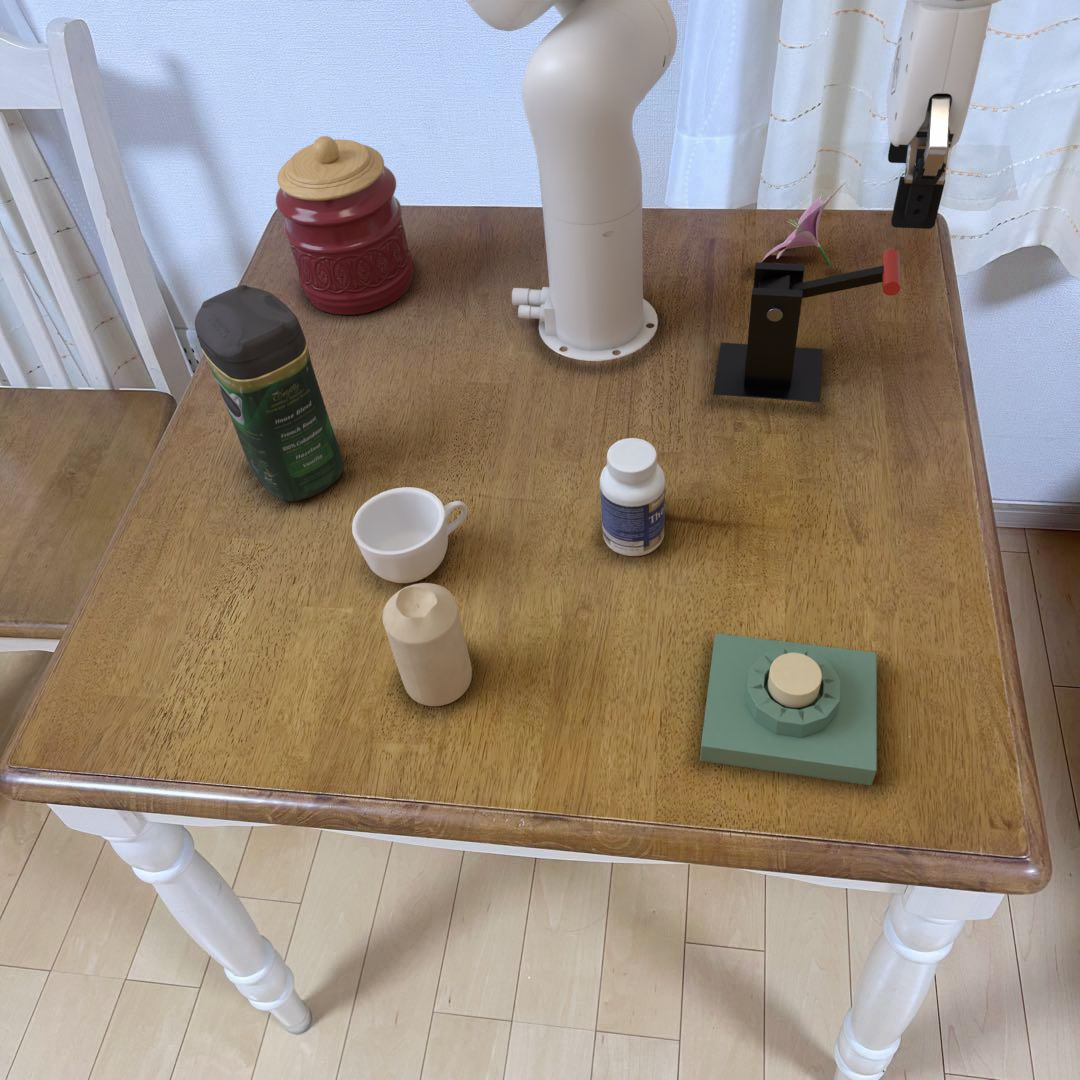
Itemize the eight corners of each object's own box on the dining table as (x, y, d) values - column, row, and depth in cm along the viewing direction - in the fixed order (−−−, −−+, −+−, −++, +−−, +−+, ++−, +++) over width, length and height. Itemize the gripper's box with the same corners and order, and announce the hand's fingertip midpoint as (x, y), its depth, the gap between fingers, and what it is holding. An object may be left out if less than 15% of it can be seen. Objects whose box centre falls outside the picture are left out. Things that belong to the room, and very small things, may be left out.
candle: (483, 657, 82) (465, 578, 74) (457, 714, 78) (436, 638, 71) (420, 642, 83) (397, 563, 76) (392, 697, 80) (365, 621, 72)
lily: (831, 236, 118) (797, 164, 113) (900, 245, 108) (866, 167, 103) (754, 301, 117) (716, 231, 112) (816, 317, 107) (778, 241, 102)
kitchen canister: (390, 323, 112) (355, 175, 99) (285, 311, 115) (237, 166, 102) (431, 256, 120) (403, 111, 107) (331, 247, 123) (292, 104, 110)
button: (766, 704, 72) (768, 691, 71) (769, 663, 75) (771, 649, 73) (818, 711, 72) (821, 698, 70) (819, 669, 74) (822, 655, 73)
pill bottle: (660, 561, 87) (661, 481, 79) (598, 555, 88) (593, 475, 80) (668, 515, 90) (669, 434, 83) (608, 509, 91) (604, 429, 84)
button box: (699, 761, 74) (701, 732, 71) (713, 649, 80) (716, 618, 77) (871, 786, 72) (881, 757, 69) (872, 668, 78) (880, 637, 75)
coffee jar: (359, 476, 97) (310, 314, 83) (285, 516, 94) (222, 356, 80) (310, 424, 102) (257, 265, 88) (239, 462, 99) (173, 303, 85)
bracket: (820, 358, 102) (836, 256, 94) (818, 411, 97) (834, 308, 88) (720, 351, 104) (726, 251, 96) (712, 403, 99) (718, 302, 90)
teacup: (385, 610, 86) (372, 569, 82) (352, 551, 90) (338, 510, 86) (491, 560, 88) (483, 518, 84) (453, 506, 93) (444, 464, 89)
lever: (901, 265, 91) (897, 242, 90) (902, 298, 88) (898, 275, 87) (766, 293, 96) (760, 272, 95) (762, 325, 93) (756, 304, 92)
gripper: (897, -82, 76) (860, 138, 89) (906, 17, 65) (862, 251, 78) (1004, -83, 74) (951, 140, 87) (1032, 17, 63) (966, 256, 76)
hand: (909, 192), depth 82 cm, fingers open, 9 cm apart
